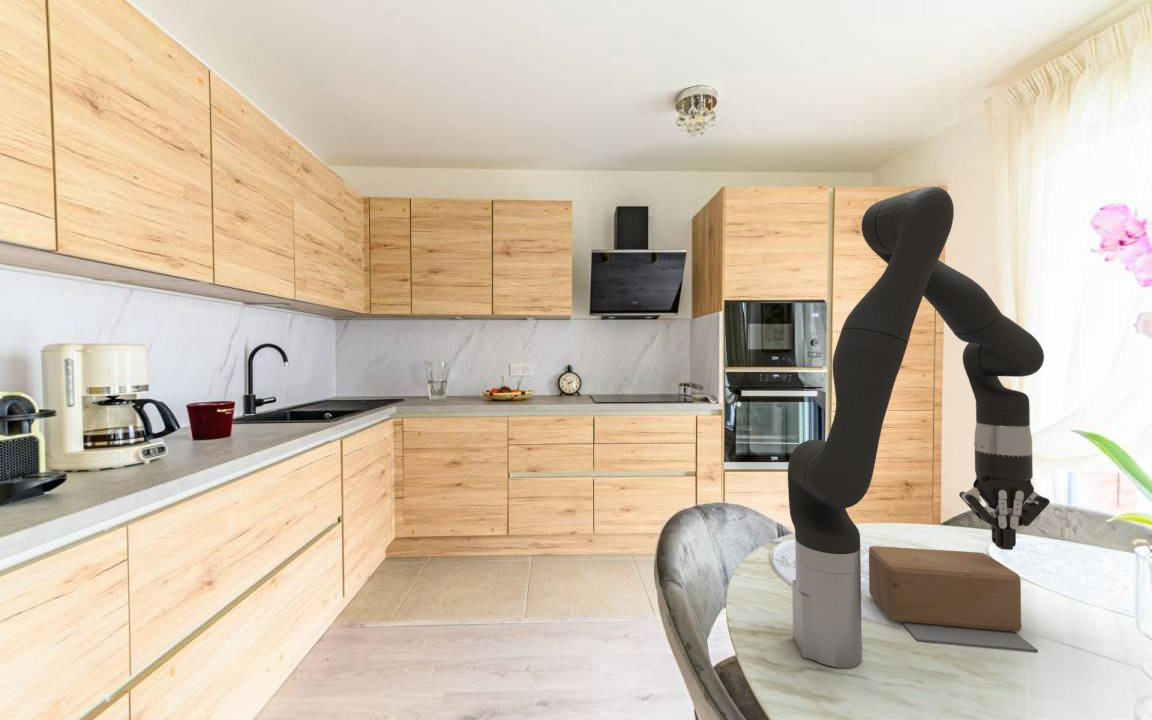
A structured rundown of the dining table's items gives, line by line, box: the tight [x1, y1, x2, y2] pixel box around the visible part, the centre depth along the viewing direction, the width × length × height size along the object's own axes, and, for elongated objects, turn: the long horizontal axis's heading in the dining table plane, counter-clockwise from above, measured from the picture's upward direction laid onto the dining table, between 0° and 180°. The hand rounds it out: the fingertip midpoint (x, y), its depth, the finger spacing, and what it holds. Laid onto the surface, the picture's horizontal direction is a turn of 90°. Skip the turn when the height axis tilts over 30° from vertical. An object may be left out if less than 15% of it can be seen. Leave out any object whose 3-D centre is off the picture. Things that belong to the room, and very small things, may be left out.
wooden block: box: [868, 545, 1022, 633], centre depth 85 cm, size 10×10×20 cm
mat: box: [900, 621, 1039, 653], centre depth 84 cm, size 17×18×1 cm
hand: (1003, 547), depth 82 cm, fingers closed
